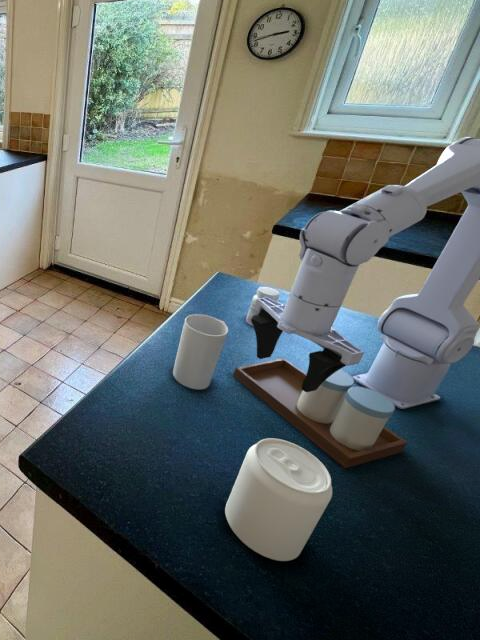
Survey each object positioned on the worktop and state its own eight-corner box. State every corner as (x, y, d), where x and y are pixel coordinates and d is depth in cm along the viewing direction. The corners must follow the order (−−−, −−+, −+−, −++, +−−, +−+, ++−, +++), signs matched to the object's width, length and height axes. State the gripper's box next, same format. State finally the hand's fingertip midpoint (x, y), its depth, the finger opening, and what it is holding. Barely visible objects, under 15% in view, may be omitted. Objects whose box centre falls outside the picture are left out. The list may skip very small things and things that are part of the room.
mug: (195, 395, 73) (212, 340, 68) (163, 373, 79) (176, 320, 73) (230, 377, 77) (248, 324, 72) (197, 357, 83) (212, 306, 78)
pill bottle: (268, 320, 94) (280, 288, 91) (272, 331, 91) (284, 298, 87) (244, 315, 96) (254, 283, 93) (247, 326, 92) (258, 293, 89)
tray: (280, 366, 80) (283, 357, 79) (401, 452, 62) (408, 442, 62) (232, 376, 78) (235, 367, 77) (345, 468, 60) (350, 458, 59)
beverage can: (271, 576, 47) (308, 509, 42) (209, 513, 54) (234, 448, 49) (315, 546, 50) (353, 480, 45) (250, 489, 57) (278, 426, 52)
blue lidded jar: (345, 421, 67) (365, 383, 64) (381, 448, 62) (404, 408, 59) (320, 428, 66) (339, 389, 62) (355, 455, 61) (377, 415, 58)
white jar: (311, 397, 72) (328, 361, 68) (343, 420, 67) (362, 382, 64) (288, 403, 71) (304, 366, 67) (318, 426, 66) (337, 388, 63)
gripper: (249, 276, 64) (226, 348, 69) (348, 329, 51) (310, 412, 57) (285, 271, 65) (260, 341, 71) (391, 321, 52) (349, 402, 58)
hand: (284, 372), depth 64 cm, fingers open, 7 cm apart
